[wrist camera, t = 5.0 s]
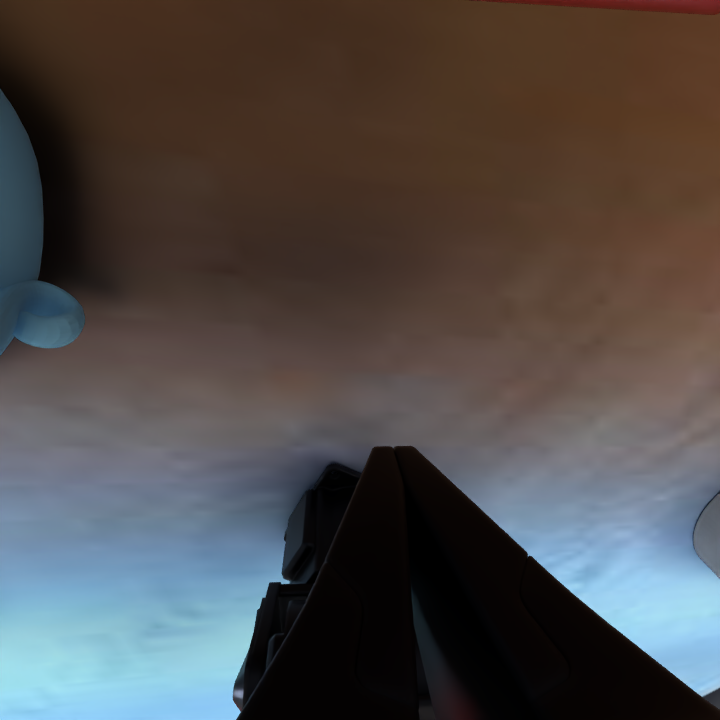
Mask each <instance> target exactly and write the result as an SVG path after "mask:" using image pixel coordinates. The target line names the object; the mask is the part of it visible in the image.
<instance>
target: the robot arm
mask: <svg viewBox="0 0 720 720" xmlns="http://www.w3.org/2000/svg"><path fill="white" fill-rule="evenodd" d="M333 471H335V472H337V473H336V474H332V473H331V472H333ZM284 540H285V542H286V543H285V551H284V558H283V566H282V576H283V578H284V579H286V580H289V581H290V584H281V582H270V583H269V586H268V590H267V594H266V598H263V599H262V602H261V606H260V609H258V610H257V616H256V621H255V627H254V633H253V636H252V640H251V644H250V648H249V651H248V653H247V656H246V658H245V660H244V662H243V665H242V667H241V669H240V672H239V674H238V676H237V679H236V681H235V684H234V690H233V701H234V703H235V704H236V705H237V707H238V708H239V710H240V711H241V713H240V714H239V716H238V718H237V719H236V720H720V709H718V708H717V707H715V706H713V705H712V704H711V703H709V702H708V701H707V700H705V699H704V698H703V697H701V696H700V695H699V694H697V693H696V692H695V691H693V690H692V689H691V688H690V687H688V686H687V685H686V684H685V683H683V682H682V681H681V680H680V679H678V678H677V677H676V676H675V675H673V674H672V673H671V672H669V671H668V670H667V669H666V668H664V667H663V666H662V665H661V664H659V663H658V662H657V661H656V660H654V659H653V658H652V657H651V656H649V655H648V654H647V653H645V652H644V651H643V650H642V649H640V648H639V647H638V646H637V645H635V644H634V643H633V642H632V641H630V640H629V639H628V638H627V637H625V636H624V635H623V634H621V633H620V632H619V631H618V630H616V629H615V628H614V627H613V626H611V625H610V624H609V623H608V622H606V621H605V620H604V619H603V618H602V617H600V616H599V615H598V614H597V613H595V612H594V611H593V610H592V609H591V608H589V607H588V606H587V605H586V604H584V603H583V602H582V601H581V600H580V599H578V598H577V597H576V596H575V595H574V594H573V593H571V592H570V591H569V590H568V589H567V588H566V587H565V586H564V585H562V584H561V583H560V582H559V581H558V580H557V579H556V578H555V577H553V576H552V575H551V574H550V573H549V572H548V571H547V570H546V569H545V568H544V567H542V566H541V565H540V564H539V563H538V562H537V561H536V560H535V559H534V558H533V557H532V556H528V553H527V552H526V551H525V550H524V549H523V548H522V547H521V546H520V545H519V544H518V543H516V542H515V541H514V540H513V539H512V538H511V537H510V536H509V535H508V534H507V533H506V532H505V531H504V530H502V529H501V528H500V527H499V526H498V525H497V524H496V523H495V522H494V521H493V520H492V519H491V518H490V517H489V516H487V515H486V514H485V513H484V512H483V511H482V510H481V509H480V508H479V507H478V506H477V505H476V504H475V503H474V502H472V501H471V500H470V499H469V498H468V497H467V496H466V495H465V494H464V493H463V492H462V491H461V490H460V489H458V488H457V487H456V486H455V485H454V484H453V483H452V482H451V481H450V480H449V479H448V478H447V477H446V476H445V475H443V474H442V473H441V472H440V471H439V470H438V469H437V468H436V467H435V466H434V465H433V464H432V463H431V462H430V461H428V460H427V459H426V458H425V457H424V456H423V455H422V454H421V453H420V452H419V451H418V450H417V449H416V448H414V447H413V446H396V447H394V449H393V448H392V447H390V446H376V447H374V448H373V449H372V451H371V453H370V456H369V458H368V460H367V463H366V465H365V467H364V470H363V472H362V474H360V473H358V472H355V471H353V470H351V469H348V468H346V467H344V466H341V465H339V464H330V465H328V466H327V467H326V469H325V471H324V472H323V474H322V475H321V477H320V478H319V480H318V481H317V483H316V485H315V486H314V488H313V489H309V490H308V491H306V492H305V494H304V495H303V497H302V498H301V500H300V502H299V503H298V505H297V506H296V508H295V509H294V511H293V513H292V514H291V516H290V517H289V520H288V527H287V529H286V531H285V535H284Z"/></svg>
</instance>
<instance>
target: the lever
mask: <svg viewBox="0 0 720 720" xmlns="http://www.w3.org/2000/svg"><path fill="white" fill-rule="evenodd" d="M471 1H488V2H504V3H521V4H538V5H554V6H571V7H588V8H605V9H621V10H638V11H655V12H671V13H688V14H705V15H715V14H718V13H720V0H471Z"/></svg>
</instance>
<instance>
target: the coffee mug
mask: <svg viewBox="0 0 720 720" xmlns="http://www.w3.org/2000/svg"><path fill="white" fill-rule="evenodd" d="M693 543H694V548H695V550H696V553H697V555H698V556H699V558H700V559H701V560H702V561H703V562H704V563H705V564H706V565H707V566H708V567H709V568H710V569H711V570H712V571H713V572H714V573H715V574H716V575H717V576H718V577H719V579H720V493H719V494H718V495H717V496H716V497H715V498H714V499H713V500H712V501H711V502H710V503H709V504H708V506H707V507H706V508H705V509H704V511H703V512H702V514H701V516H700V518H699V520H698V522H697V524H696V527H695V531H694V540H693Z"/></svg>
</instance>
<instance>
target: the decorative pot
mask: <svg viewBox="0 0 720 720" xmlns="http://www.w3.org/2000/svg"><path fill="white" fill-rule="evenodd" d="M43 224H44V216H43V197H42V185H41V179H40V174H39V168H38V162H37V159H36V156H35V153H34V150H33V147H32V145H31V142H30V139H29V136H28V134H27V132H26V130H25V128H24V126H23V125H22V123H21V121H20V119H19V117H18V115H17V113H16V111H15V110H14V108H13V106H12V105H11V103H10V102H9V100H8V99H7V98H6V96H5V95H4V93H3V92H2V90H1V89H0V355H1V354H2V353H3V352H4V350H5V349H6V348H7V346H8V345H9V344H10V342H11V341H12V339H13V338H14V337H16V338H17V339H18V340H20V341H22V342H24V343H26V344H29V345H32V346H36V347H41V348H58V347H63V346H65V345H68V344H70V343H71V342H73V341H74V340H75V339H76V338H77V337H78V336H79V334H80V333H81V331H82V329H83V327H84V324H85V315H84V311H83V308H82V306H81V305H80V303H79V302H78V301H77V300H76V299H75V298H74V297H73V296H72V295H70V294H69V293H68V292H66V291H65V290H63V289H61V288H59V287H57V286H55V285H53V284H50V283H47V282H43V281H38V277H39V273H40V266H41V257H42V249H43Z"/></svg>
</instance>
